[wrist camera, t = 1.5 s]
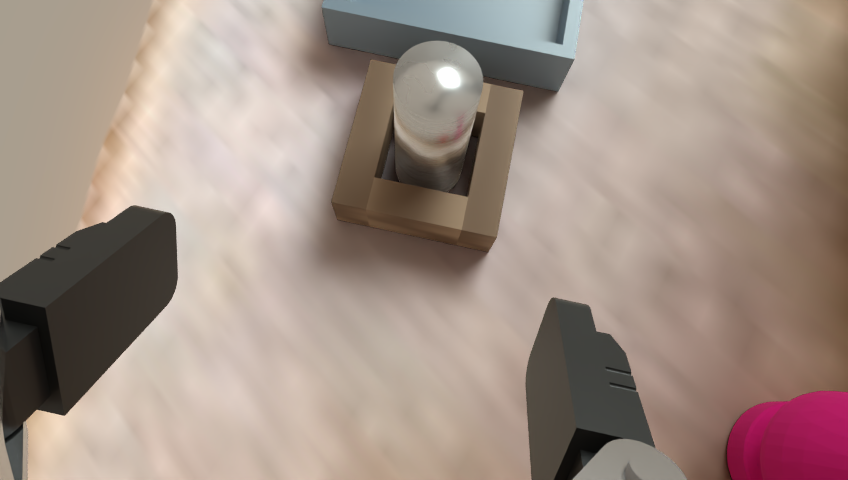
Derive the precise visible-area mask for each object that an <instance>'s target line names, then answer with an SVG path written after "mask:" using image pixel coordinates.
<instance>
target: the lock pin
mask: <svg viewBox="0 0 848 480" xmlns="http://www.w3.org/2000/svg"><path fill="white" fill-rule="evenodd" d="M482 89H483V75H482V71H481V68H480V66H479V64H478V62H477V61H476V59H475V58H474V57H473V56H472V55H471V54H470V53H469V52H468V51H467V50H465V49H464V48H462V47H460V46H458V45H456V44H453V43H450V42H446V41H428V42H423V43H420V44H418V45H415V46H413V47H412V48H410V49H409V50H407V51H406V52H405V53H404V54H403V55H402V56H401V58H400V59H399V60H398V62H397V64H396V66H395V69H394V74H393V98H394V132H395V166H396V174H397V177H398V179H399V181H400V183H404V184H409V185H414V186H418V187H423V188H428V189H433V190H437V191H442V192H448V191H450V190H451V189H452V188H453V187H454V186H455V185H456V183H457V182H458V180H459V178H460V175H461V171H462V167H463V163H464V159H465V155H466V151H467V147H468V143H469V140H470V136H471V132H472V128H473V124H474V120H475V116H476V112H477V108H478V104H479V101H480V97H481V93H482Z"/></svg>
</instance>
